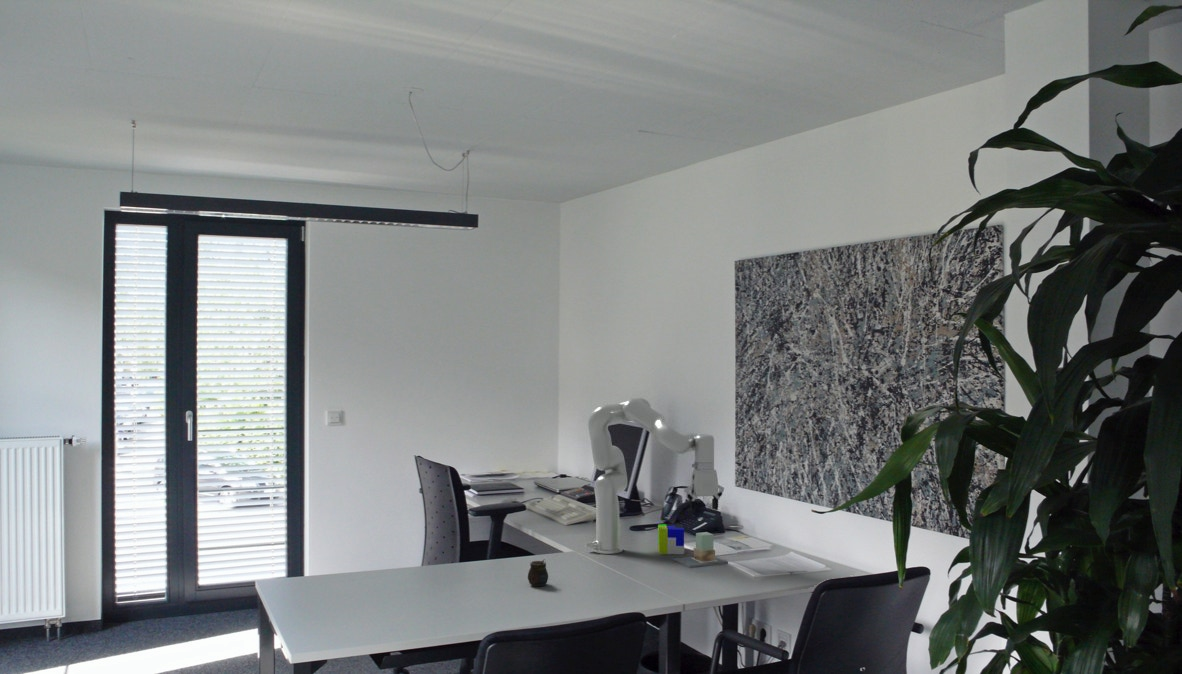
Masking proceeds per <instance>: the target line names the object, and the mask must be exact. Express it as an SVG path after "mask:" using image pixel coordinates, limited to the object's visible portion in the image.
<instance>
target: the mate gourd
mask: <svg viewBox="0 0 1182 674" xmlns="http://www.w3.org/2000/svg"><path fill="white" fill-rule="evenodd" d="M545 560H546V559H543V560H533V561H530V565H529V566H530V568H529V570H528V572H527V580H528V583H529V585H530V586H532V587H535V588H541V587H543V586H546V584H547V583H548V580H549V573H548V570H547V562H546V561H545Z"/></svg>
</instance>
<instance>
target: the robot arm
mask: <svg viewBox="0 0 1182 674" xmlns="http://www.w3.org/2000/svg"><path fill="white" fill-rule="evenodd" d="M627 422H628V423H629V422H633V423H635V424H637V425H638V426H639V427H641V428H643V430H646V431H647V432H649V433H650V434H651V435H652V436H653V437H654V438H655V439H656V440H657V441H658V442H659V443H660V444H662V445H663V446H664V447H666V448H668V449H669V450H671V451H673V452H674V453H675V454H682V455H683V454H686V453H690V452H691V453H692V452H694V463H692V464H691V468H694V469H693V471H692V474H691V475H692V476H691V484H690V485H689V486H688V487H685V489H684V490H683V493H684V494H685V497H686V498H687V499H688V500H689V509H690V511H691V512H697V501H695V500H696V499H697V498H698V497H712V498H711V499H712V501H711V502H712V503H711V506H712V507H711V508H712V510H715V511H718V510H719V509H718V508H719V500H720V498H721V497H722V496H723V493H724V490H725V487H723V486H721V485H719V480H718V473H717V469H715V438H714V436H713V435H711V434H702V433H701V434H697V433H693V432H685V433H679V432H678V431H676V430H675V429H673V428H672V427H670V425H668V424H667V422H666V421H665V416H664V415H662V413H660V412H658V411H657V410H656V409H653V408H652V407H651V404H650V402H649V401H648V400H647V399H645V398H643V397H636V398H630V399H628V400H627V401H623V402H622V401H621V402H618V403H613V404H604V405H601V406H598V407H597V408H596V409H594V410H593V411H592V412H591V414H590V416H589V418H588V423H587V426H588V432H589V433H588V434H589V438H590V445H591V451H592V460H593V464H594V467H595V468H596V469H597V470H598V471H604V472H605V473H604V474H601V475H599V476H598V477H597V478H596V480H595V481H594V487H593V490H594V496H595V497H594V498H595V512H596V513H595V514H596V515H595V520H596V522H595V523H596V524H595V526H596V527H595V530H596V531H595V538H594V539H593V540H592V541H591V542H590V541H589V542H588V541H586V542H584V546H585V548H592V552H594V553H597V554H602V555H612V554H619V553H622V552H624V547H623V546H621V545H620V503H619V497H618V495H620V494H623V492H624V491H625V490H626V489H627V487H628V473H627V468H626V462H625V457H624V453H623V451H622V450H621V448H619V447H618V446H616V445H613V444H612V436H611V433H610V431H609V427H610V426H613V425H619V424H622V423H627ZM690 493H691V494H690Z"/></svg>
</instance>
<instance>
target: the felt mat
mask: <svg viewBox="0 0 1182 674" xmlns="http://www.w3.org/2000/svg"><path fill="white" fill-rule="evenodd" d="M674 561H675V562H677V563H679V564H680V565H683V566H685V567H687V568H689V569H690V568H691V569H692V568H699V567H700V568H702V567H709V566H710V567H711V566H718V565H719V566H720V565H728V564H729V561H728V560H726V559H723V558H721V557H719V556H716V555H715V561H706V562H701V561H699V560H696V559H694V556H687V557H685V556H684V557H679V558H678V557H677V558H674Z"/></svg>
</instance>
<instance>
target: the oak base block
mask: <svg viewBox="0 0 1182 674" xmlns="http://www.w3.org/2000/svg"><path fill="white" fill-rule="evenodd" d="M715 556H716V550H715V548H713V550H708V551H701V550H698V549H696V547H694V548H693V557H694V559H696V560H699V561H701V562H706V561H715Z"/></svg>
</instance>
